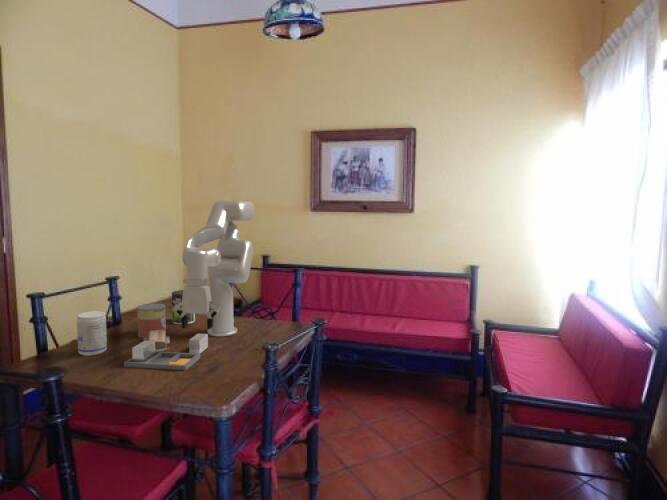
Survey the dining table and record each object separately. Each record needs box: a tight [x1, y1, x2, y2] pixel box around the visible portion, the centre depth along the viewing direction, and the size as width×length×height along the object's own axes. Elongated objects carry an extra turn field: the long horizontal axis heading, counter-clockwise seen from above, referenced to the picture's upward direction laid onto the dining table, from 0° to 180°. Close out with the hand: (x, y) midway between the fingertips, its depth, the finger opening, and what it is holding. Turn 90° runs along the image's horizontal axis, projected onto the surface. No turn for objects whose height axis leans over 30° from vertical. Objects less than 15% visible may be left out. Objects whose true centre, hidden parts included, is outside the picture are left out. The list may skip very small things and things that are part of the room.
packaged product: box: [143, 330, 171, 352], centre depth 176 cm, size 18×5×10 cm
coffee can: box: [171, 289, 196, 325], centre depth 210 cm, size 10×10×14 cm
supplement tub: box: [76, 310, 108, 357], centre depth 168 cm, size 10×10×15 cm
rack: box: [123, 351, 201, 371], centre depth 157 cm, size 12×22×3 cm, turn 83°
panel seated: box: [131, 340, 156, 362], centre depth 157 cm, size 8×4×6 cm, turn 173°
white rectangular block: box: [188, 333, 209, 355], centre depth 170 cm, size 8×4×6 cm, turn 173°
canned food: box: [136, 302, 167, 339], centre depth 191 cm, size 11×11×12 cm
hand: (197, 327), depth 168 cm, fingers open, 9 cm apart
